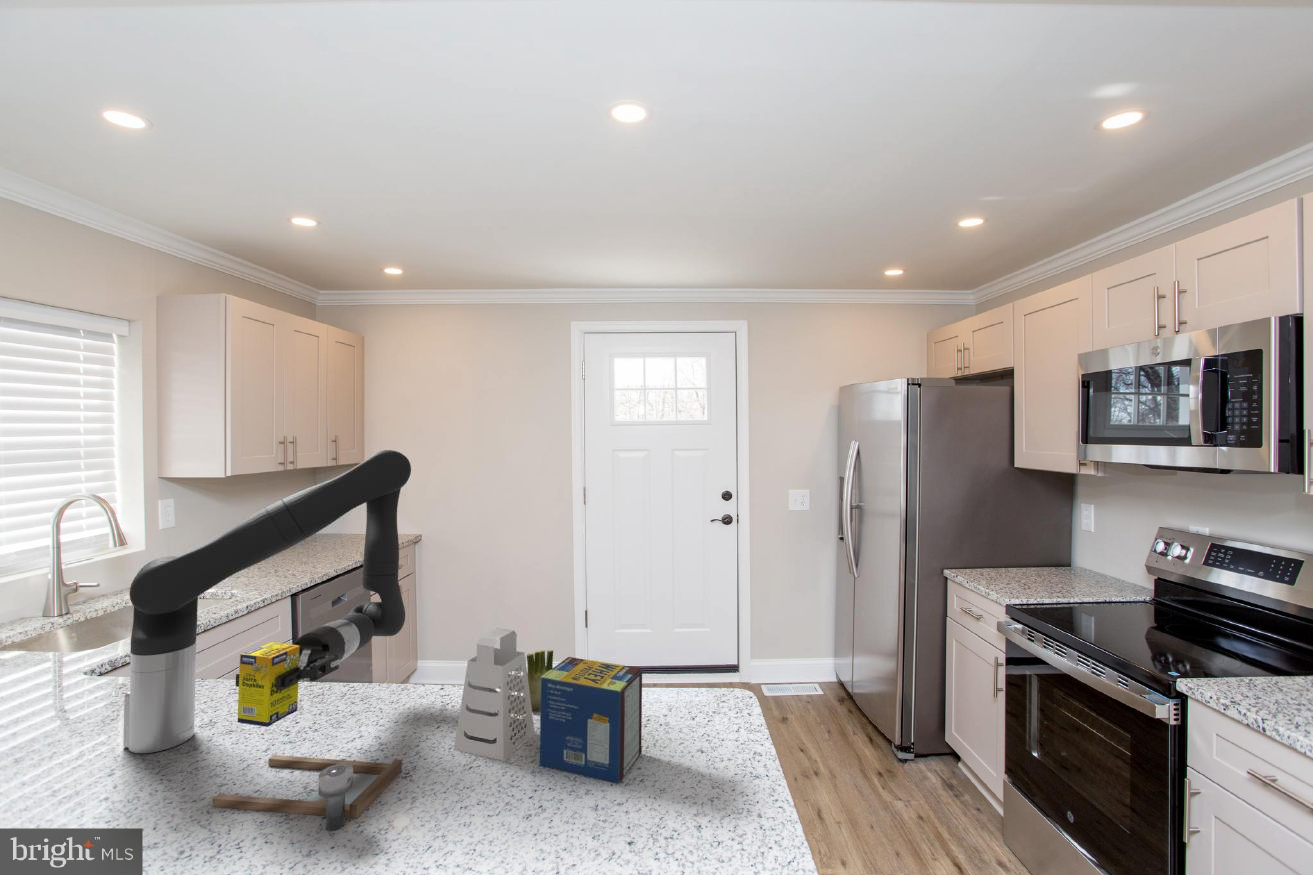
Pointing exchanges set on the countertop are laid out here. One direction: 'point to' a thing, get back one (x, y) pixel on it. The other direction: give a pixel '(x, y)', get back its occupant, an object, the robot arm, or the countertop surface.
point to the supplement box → (266, 684)
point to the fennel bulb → (537, 674)
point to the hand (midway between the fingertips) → (258, 682)
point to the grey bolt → (335, 793)
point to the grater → (495, 698)
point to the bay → (355, 799)
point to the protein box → (591, 718)
